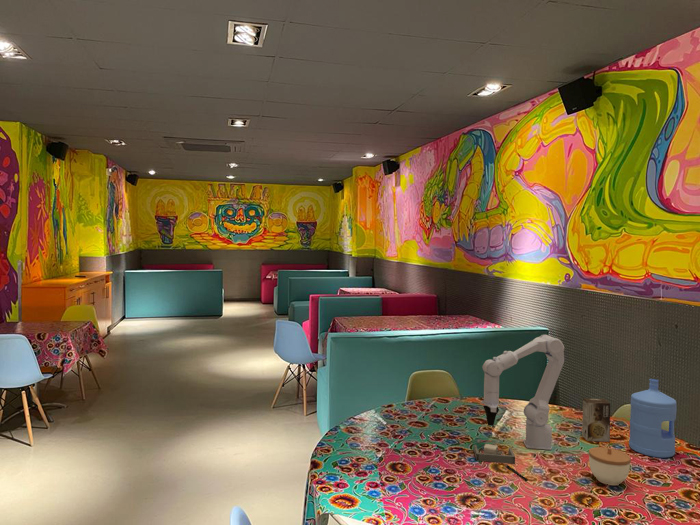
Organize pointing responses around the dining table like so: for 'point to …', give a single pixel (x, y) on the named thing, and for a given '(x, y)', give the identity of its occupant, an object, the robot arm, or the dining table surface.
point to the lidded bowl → (609, 465)
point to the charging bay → (495, 457)
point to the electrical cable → (517, 473)
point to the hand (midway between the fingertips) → (490, 424)
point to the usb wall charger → (492, 449)
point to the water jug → (652, 422)
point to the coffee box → (596, 420)
